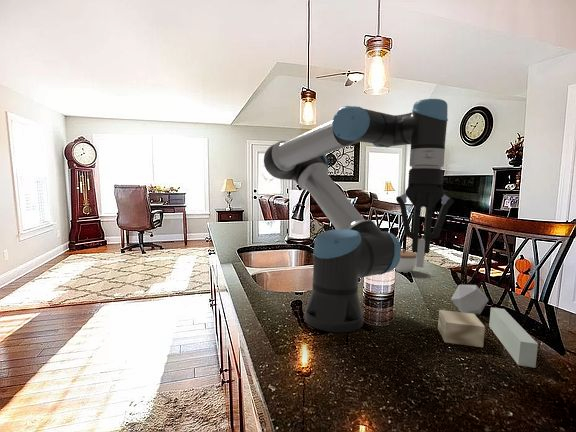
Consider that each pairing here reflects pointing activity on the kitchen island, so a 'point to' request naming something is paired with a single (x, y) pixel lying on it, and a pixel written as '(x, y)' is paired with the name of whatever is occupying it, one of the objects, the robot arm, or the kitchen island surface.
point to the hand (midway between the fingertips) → (419, 266)
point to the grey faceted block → (469, 299)
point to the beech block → (461, 328)
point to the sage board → (513, 337)
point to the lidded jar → (406, 261)
